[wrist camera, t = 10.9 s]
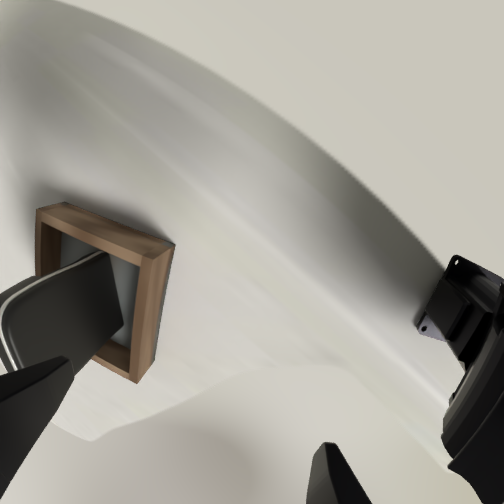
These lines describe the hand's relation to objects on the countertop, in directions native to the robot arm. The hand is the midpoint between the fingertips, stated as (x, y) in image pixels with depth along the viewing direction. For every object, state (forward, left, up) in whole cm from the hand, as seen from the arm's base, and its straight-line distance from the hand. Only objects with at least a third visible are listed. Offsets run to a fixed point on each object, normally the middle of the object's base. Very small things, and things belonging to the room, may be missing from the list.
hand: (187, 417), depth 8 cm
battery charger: (+12, +6, -12) cm, 18 cm away
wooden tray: (+12, +6, -13) cm, 18 cm away
